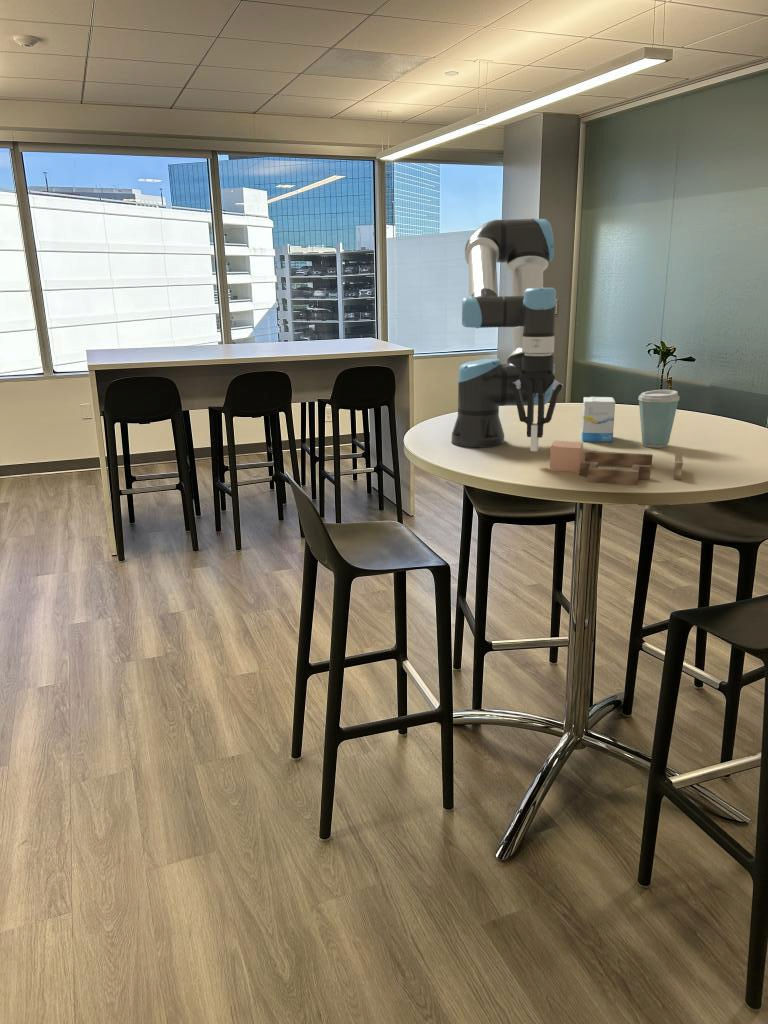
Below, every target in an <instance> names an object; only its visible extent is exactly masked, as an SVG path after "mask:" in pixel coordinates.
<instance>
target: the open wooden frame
mask: <svg viewBox="0 0 768 1024" xmlns="http://www.w3.org/2000/svg"><path fill="white" fill-rule="evenodd" d="M683 456H684V455H683V453H681V452H680V453H679V452H678V453H677V452H676V453H675V458H674V469H673V471H674V472H673V473H674V474H673V480H675V481H681V480H682V475H683V463H684V462H683V461H684V460H683V459H684V458H683ZM598 465H601V466H614V467H631V469H621V468H620V469H618V468H605V467H598ZM652 467H653V454H650V453H649V454H646V453H632V452H630V453H629V452H628V453H627V452H614V451H613V452H612V451H598V450H597V451H596V450H585V453H584V461H583V460H582V461H581V462H580V470H579V472H578V475H580V476H587V482H590V483H591V482H592V483H606V484H618V485H634V486H635V485H636V486H638V485H639V480H648V481H649V480H650V481H651V473H652Z"/></svg>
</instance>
